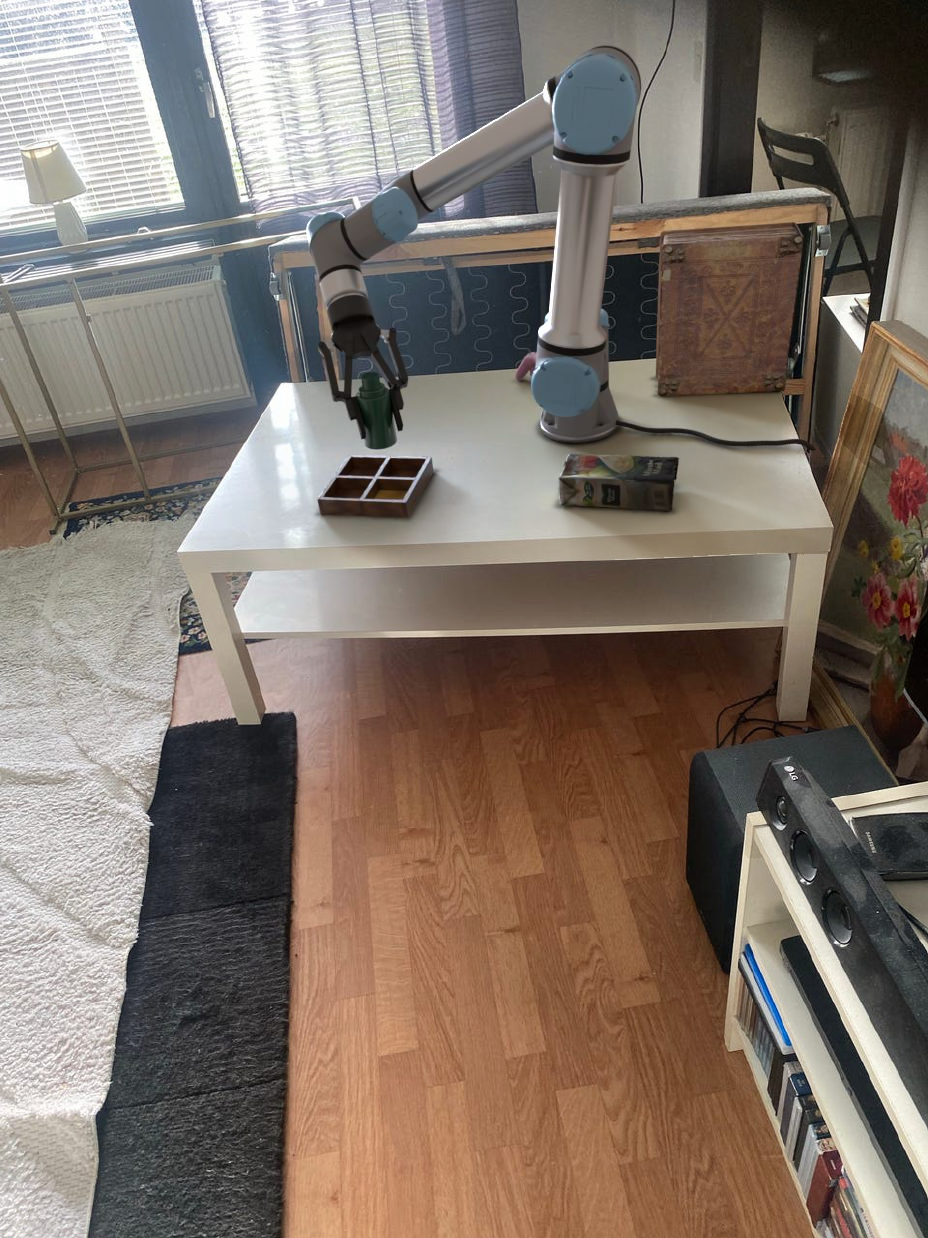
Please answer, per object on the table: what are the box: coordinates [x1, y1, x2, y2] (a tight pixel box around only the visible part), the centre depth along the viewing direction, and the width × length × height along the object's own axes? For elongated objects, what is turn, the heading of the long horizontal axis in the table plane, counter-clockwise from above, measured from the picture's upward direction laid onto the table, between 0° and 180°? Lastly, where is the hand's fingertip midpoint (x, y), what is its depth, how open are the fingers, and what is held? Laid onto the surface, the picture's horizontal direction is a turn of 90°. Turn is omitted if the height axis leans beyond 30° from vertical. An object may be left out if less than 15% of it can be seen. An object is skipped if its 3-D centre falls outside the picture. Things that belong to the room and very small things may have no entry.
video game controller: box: [515, 351, 537, 381], centre depth 197 cm, size 10×5×7 cm, turn 47°
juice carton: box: [557, 453, 680, 512], centre depth 155 cm, size 20×10×6 cm, turn 74°
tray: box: [316, 454, 434, 519], centre depth 165 cm, size 17×17×3 cm
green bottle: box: [355, 371, 398, 451], centre depth 152 cm, size 6×6×12 cm
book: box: [655, 221, 805, 397], centre depth 179 cm, size 25×9×30 cm, turn 81°
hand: (382, 431), depth 150 cm, fingers closed on green bottle, 6 cm apart
